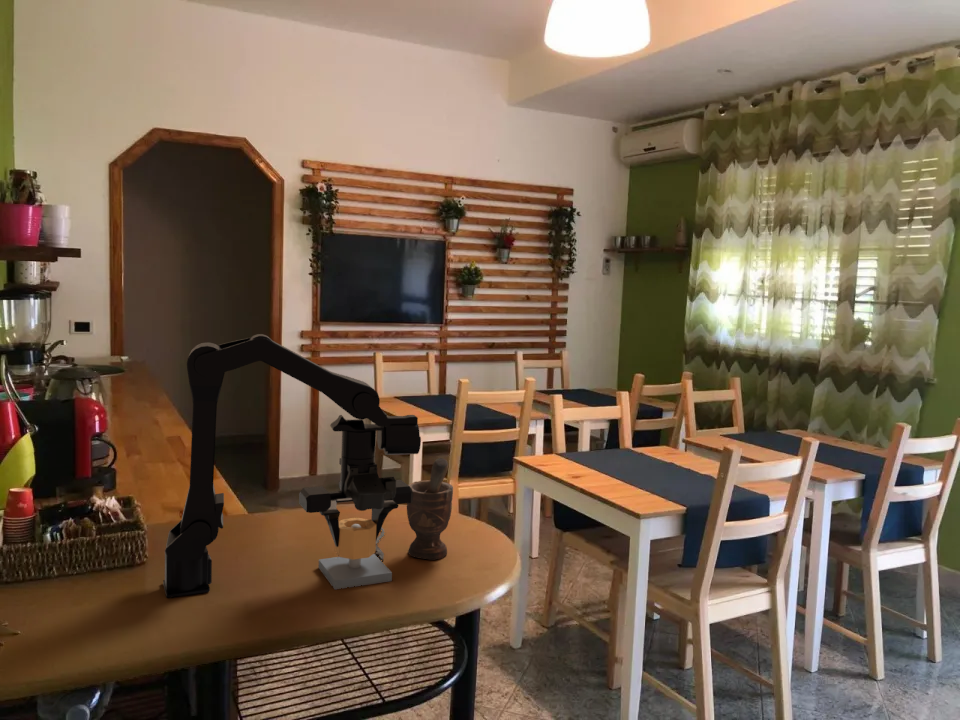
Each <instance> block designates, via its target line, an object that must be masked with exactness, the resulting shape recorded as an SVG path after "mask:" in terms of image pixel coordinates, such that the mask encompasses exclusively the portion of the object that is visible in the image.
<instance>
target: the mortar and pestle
mask: <svg viewBox="0 0 960 720" xmlns="http://www.w3.org/2000/svg"><path fill="white" fill-rule="evenodd" d="M448 469H449V463H448V460H447V459H445V458H441V457H440V458H436V459H435V460H434V462H433V464H432V466H431V470H430V479H429V480H427V479H426V480H418V481H414V482H411V483H408V485H409V486H410V487H411V488H412V491H413V502H411V503H406V516H407V519H408V524H409V526H410V528H411V530H413V532H414V533H415V538H414V540H413V541H412V542H411V543H410V545H409V548H408V551H407V553H408V555H409V556H411V557H413V558H417V559H423V560H428V561H435V560H441V559H443V558H444V557H446V556H447V554H448V549H447V545H446V543H445V542H444V541H442V539H441V534H442V533H443V532H444V531H445V530H446V529H447V528H448V525H449V522H450V519H451V516H452V515H451V514H452V508H453V506H452V505H453V503H452V502H453V494H454V486H453V485H452V484H450V483H449V482H446V481H443V480H444V479H445V477H446V474H447V472H448Z"/></svg>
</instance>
